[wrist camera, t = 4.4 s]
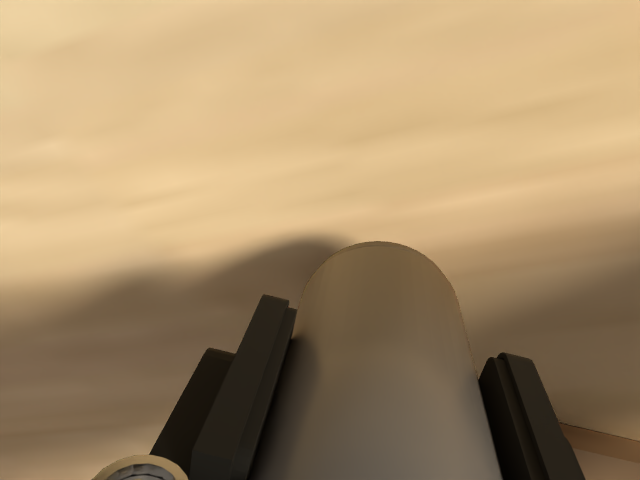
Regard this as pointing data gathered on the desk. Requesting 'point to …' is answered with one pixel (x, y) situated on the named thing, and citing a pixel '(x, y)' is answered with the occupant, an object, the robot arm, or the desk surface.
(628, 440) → the clipboard
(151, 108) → the desk surface
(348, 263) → the marker
